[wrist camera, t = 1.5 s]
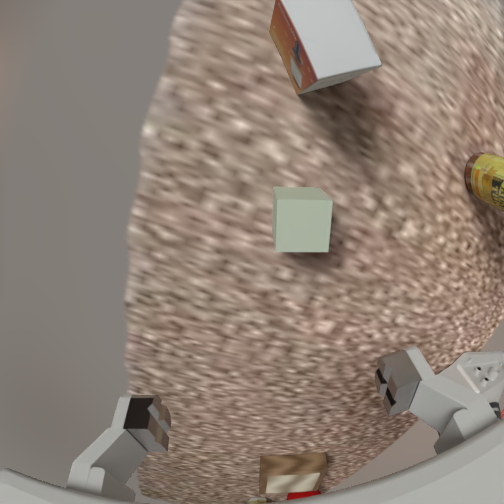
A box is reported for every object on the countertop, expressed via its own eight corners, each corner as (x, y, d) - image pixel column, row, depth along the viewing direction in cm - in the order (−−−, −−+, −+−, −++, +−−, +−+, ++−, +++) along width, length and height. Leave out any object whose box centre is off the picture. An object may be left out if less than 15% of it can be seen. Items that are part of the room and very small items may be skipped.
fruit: (319, 478, 59) (324, 509, 50) (320, 488, 63) (323, 517, 54) (284, 483, 60) (286, 515, 51) (287, 493, 64) (289, 521, 54)
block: (319, 187, 32) (332, 200, 26) (316, 231, 34) (328, 252, 28) (273, 186, 32) (277, 199, 26) (272, 230, 34) (275, 252, 28)
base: (325, 452, 53) (328, 470, 48) (315, 475, 58) (317, 491, 54) (260, 456, 53) (260, 475, 48) (259, 478, 58) (259, 495, 54)
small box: (268, 31, 25) (274, -9, 15) (317, 19, 24) (342, -21, 14) (296, 96, 28) (316, 81, 18) (345, 83, 27) (384, 66, 17)
